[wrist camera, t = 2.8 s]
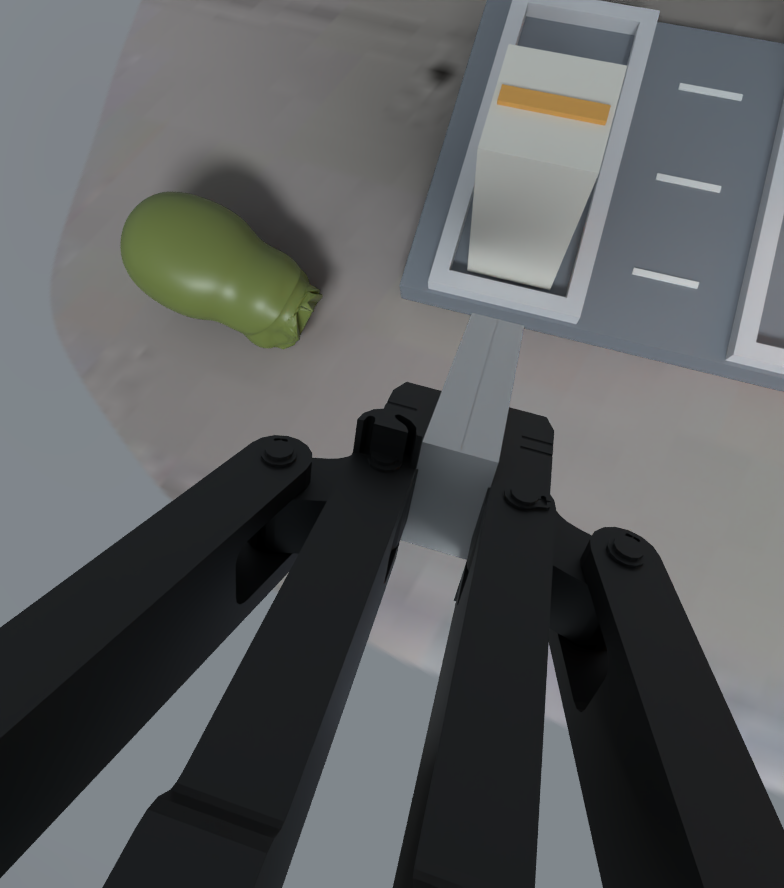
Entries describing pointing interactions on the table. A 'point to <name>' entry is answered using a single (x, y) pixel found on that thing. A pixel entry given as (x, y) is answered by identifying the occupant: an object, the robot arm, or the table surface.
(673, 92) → the tray
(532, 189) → the fader knob
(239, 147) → the table surface
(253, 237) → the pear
